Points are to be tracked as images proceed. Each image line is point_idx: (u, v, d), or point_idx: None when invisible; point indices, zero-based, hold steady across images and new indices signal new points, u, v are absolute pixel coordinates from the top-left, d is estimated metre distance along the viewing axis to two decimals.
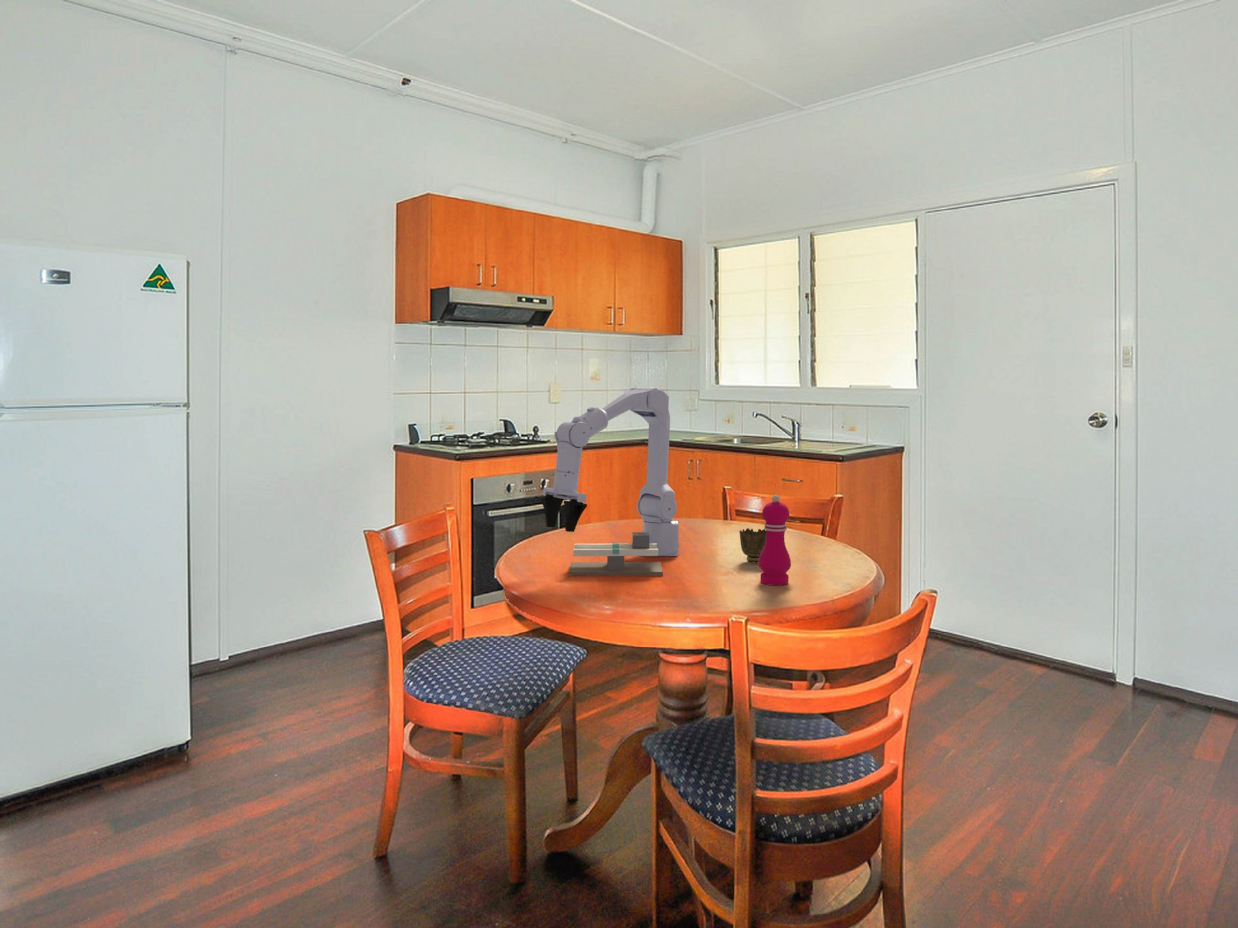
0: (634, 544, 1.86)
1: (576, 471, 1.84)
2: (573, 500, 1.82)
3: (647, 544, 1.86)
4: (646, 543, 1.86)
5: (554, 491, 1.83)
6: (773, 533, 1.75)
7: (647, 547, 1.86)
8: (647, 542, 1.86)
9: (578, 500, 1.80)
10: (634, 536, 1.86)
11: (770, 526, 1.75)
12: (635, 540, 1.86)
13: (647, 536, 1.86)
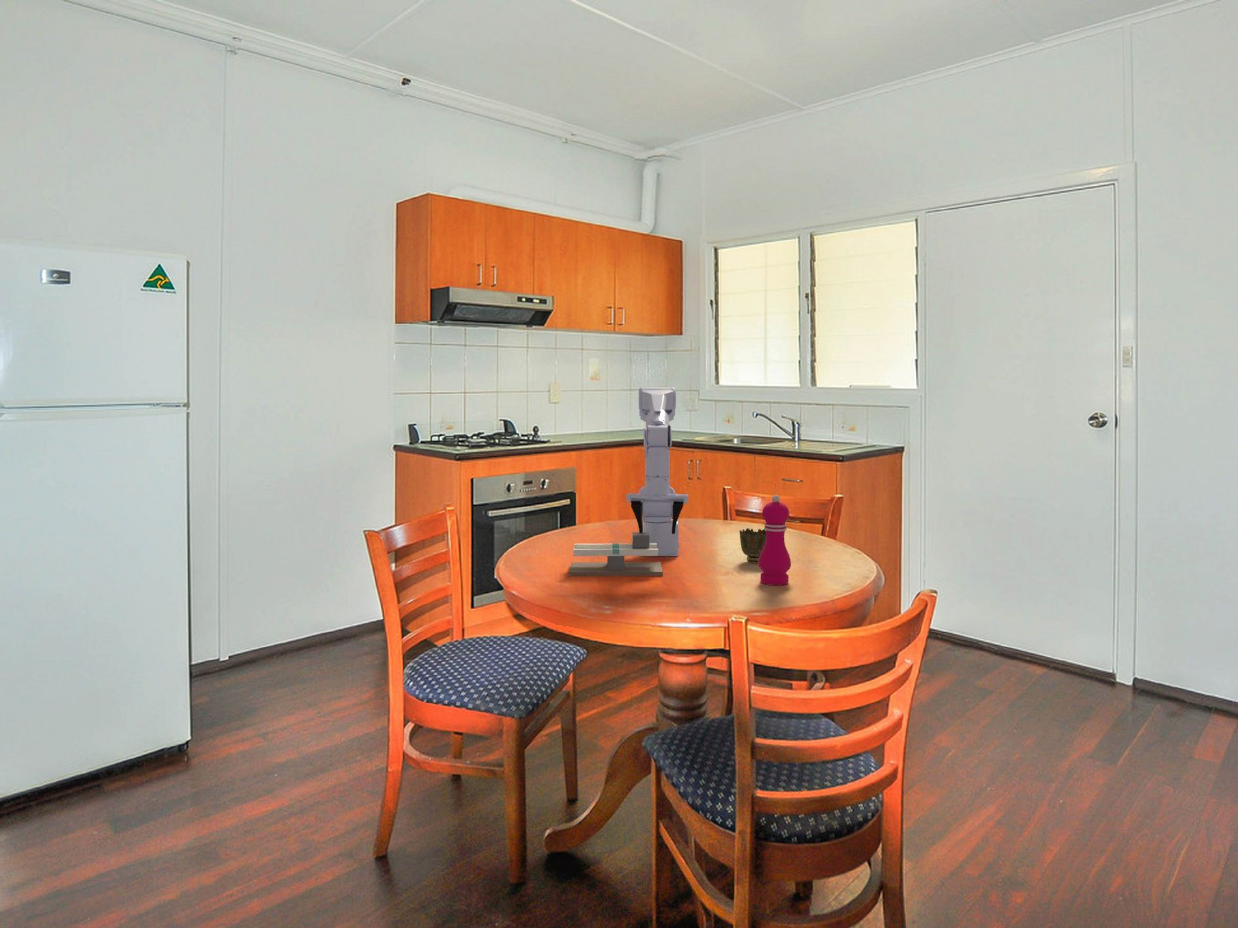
0: (634, 544, 1.86)
1: None
2: (677, 502, 1.84)
3: (647, 544, 1.86)
4: (646, 543, 1.86)
5: (660, 498, 1.81)
6: (773, 533, 1.75)
7: (647, 547, 1.86)
8: (647, 542, 1.86)
9: (686, 502, 1.84)
10: (634, 536, 1.86)
11: (770, 526, 1.75)
12: (635, 540, 1.86)
13: (647, 536, 1.86)
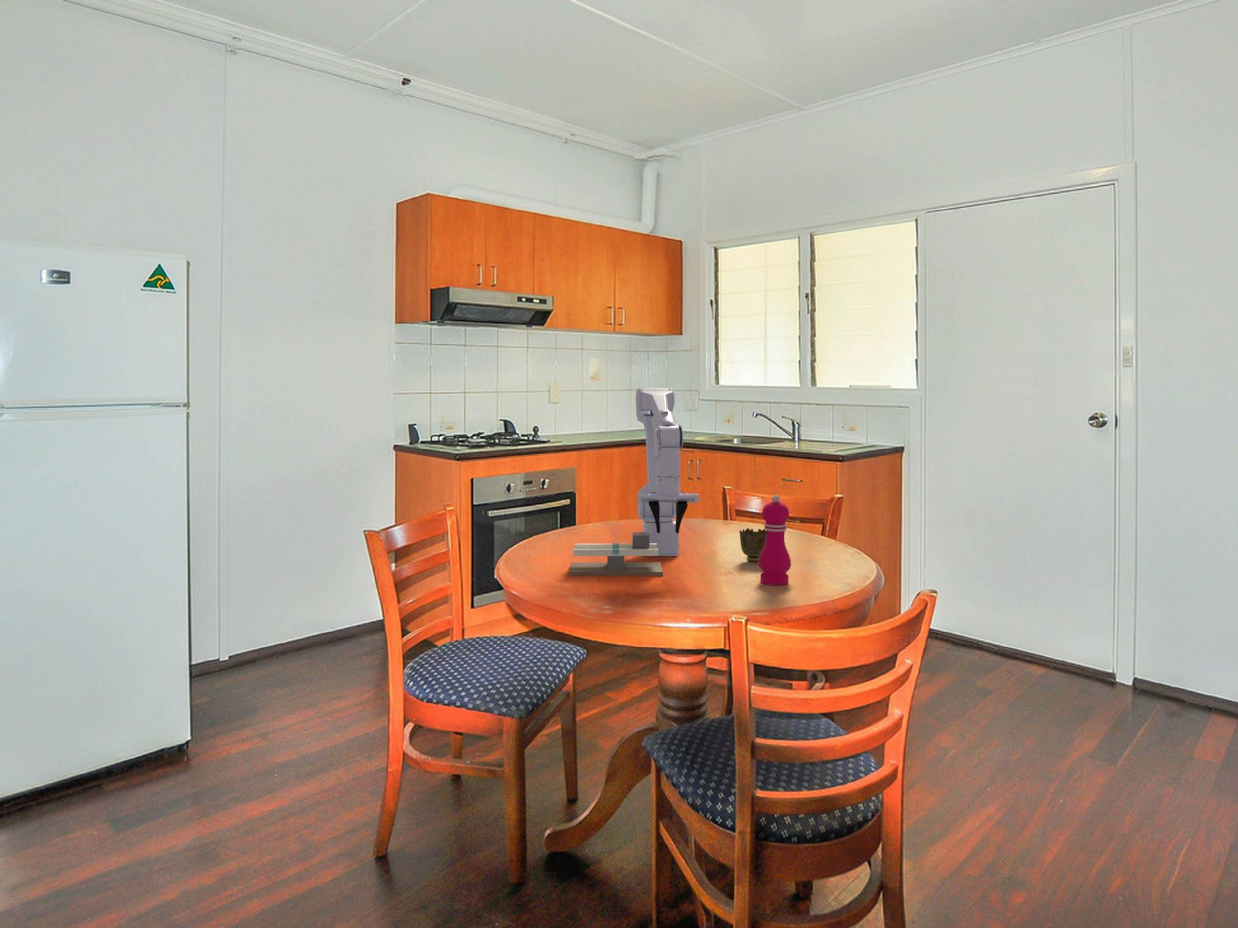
0: (634, 544, 1.86)
1: None
2: None
3: (647, 544, 1.86)
4: (646, 543, 1.86)
5: (673, 498, 1.83)
6: (773, 533, 1.75)
7: (647, 547, 1.86)
8: (647, 542, 1.86)
9: (697, 501, 1.86)
10: (634, 536, 1.86)
11: (770, 526, 1.75)
12: (635, 540, 1.86)
13: (647, 536, 1.86)
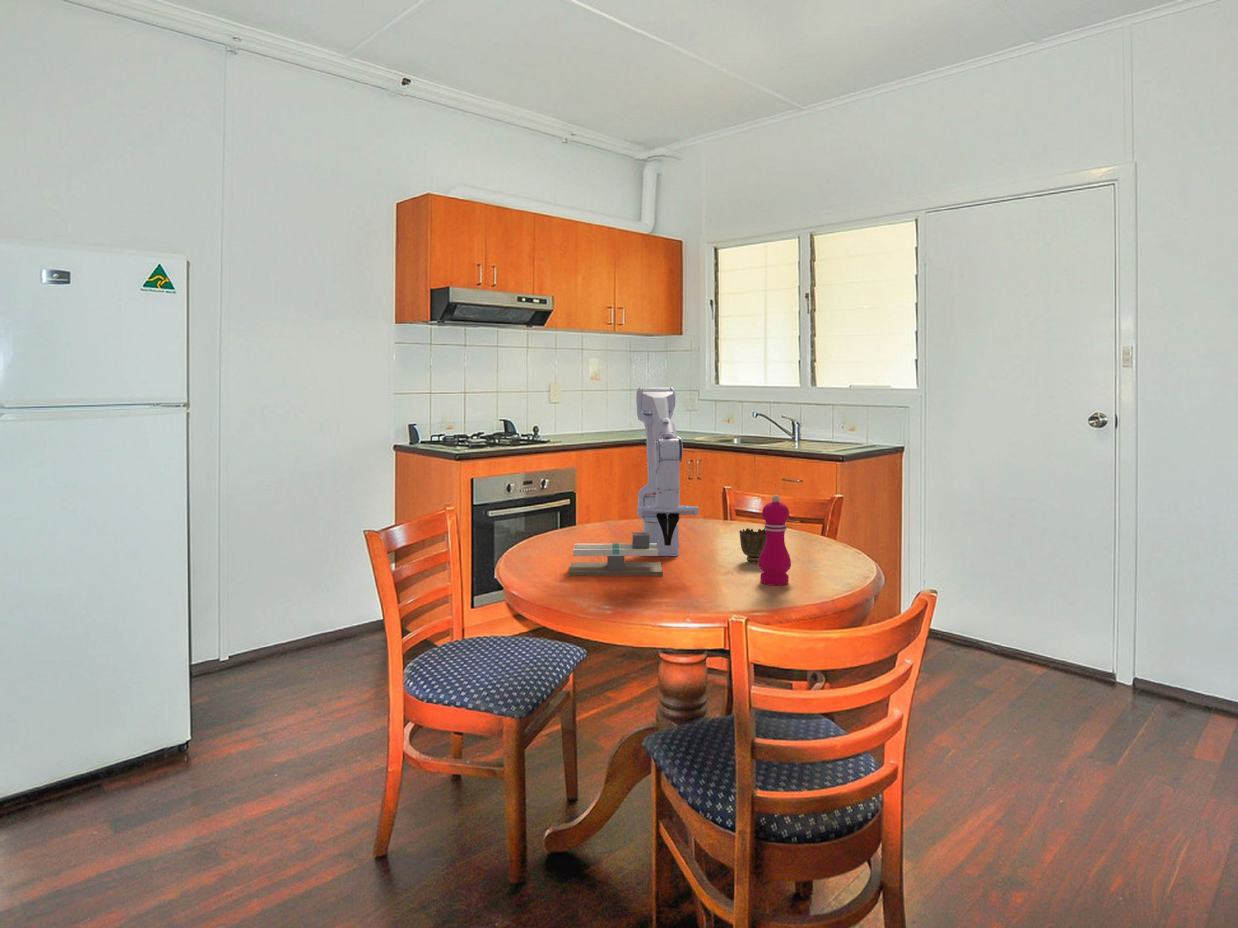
0: (634, 544, 1.86)
1: None
2: (688, 514, 1.86)
3: (647, 544, 1.86)
4: (646, 543, 1.86)
5: (672, 510, 1.83)
6: (773, 533, 1.75)
7: (647, 547, 1.86)
8: (647, 542, 1.86)
9: (696, 514, 1.86)
10: (634, 536, 1.86)
11: (770, 526, 1.75)
12: (635, 540, 1.86)
13: (647, 536, 1.86)
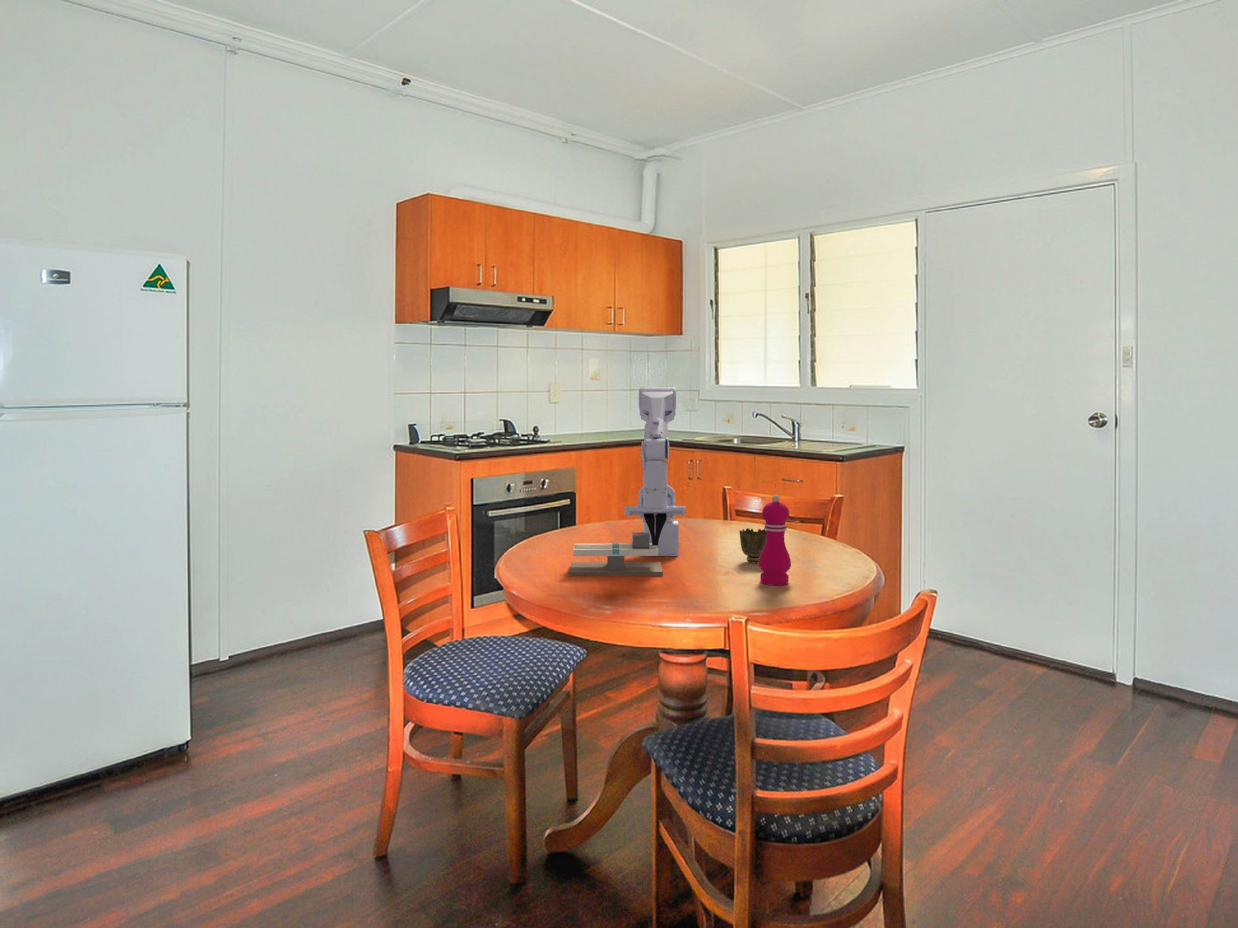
0: (634, 544, 1.86)
1: None
2: (675, 514, 1.86)
3: (647, 544, 1.86)
4: (646, 543, 1.86)
5: (660, 510, 1.83)
6: (773, 533, 1.75)
7: (647, 547, 1.86)
8: (647, 542, 1.86)
9: (684, 514, 1.86)
10: (634, 536, 1.86)
11: (770, 526, 1.75)
12: (635, 540, 1.86)
13: (647, 536, 1.86)
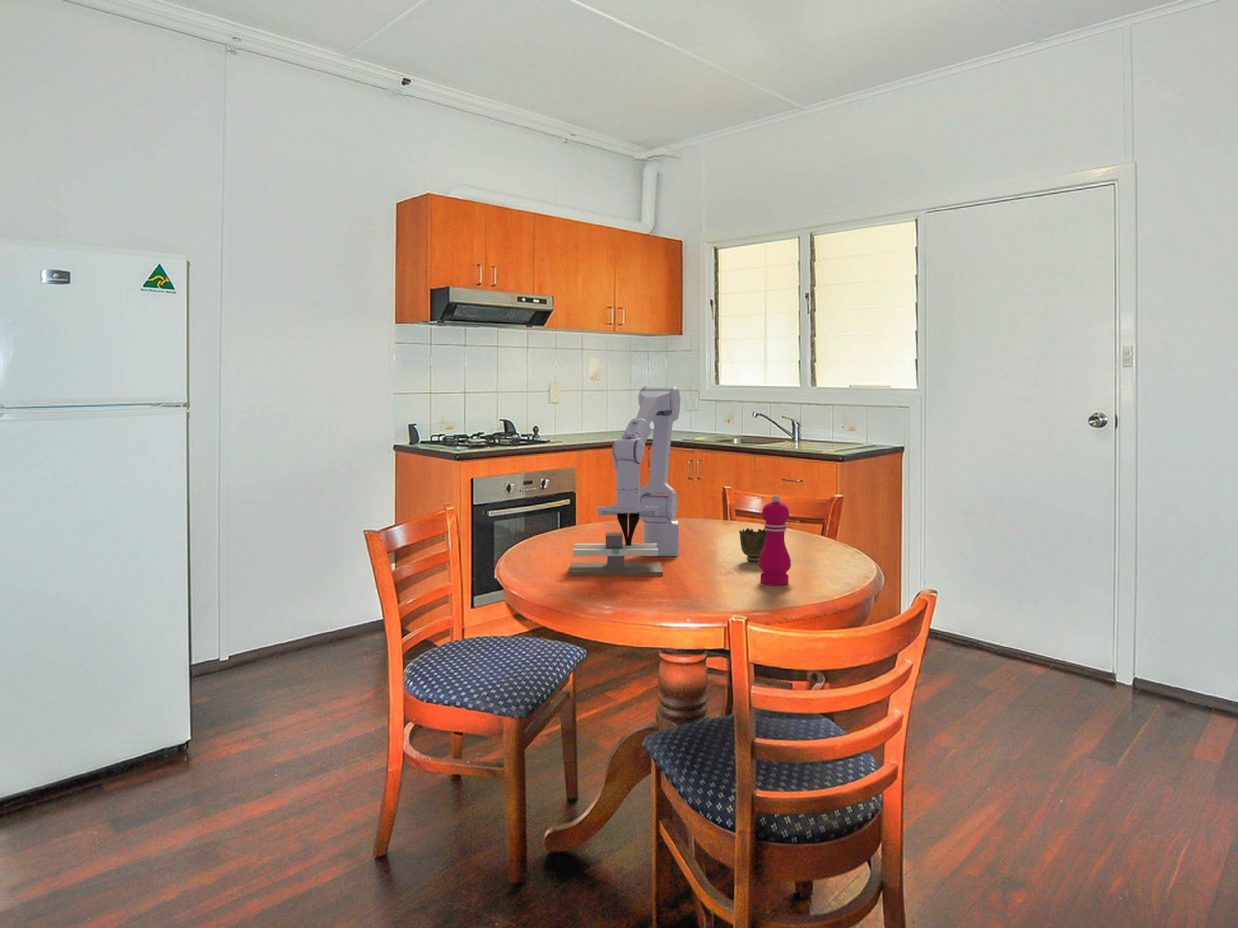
0: (607, 544, 1.86)
1: (639, 486, 1.86)
2: (648, 515, 1.86)
3: (620, 544, 1.86)
4: (619, 543, 1.86)
5: (632, 510, 1.83)
6: (773, 533, 1.75)
7: (620, 547, 1.86)
8: (620, 542, 1.86)
9: (657, 514, 1.86)
10: (607, 536, 1.86)
11: (770, 526, 1.75)
12: (608, 540, 1.86)
13: (620, 536, 1.86)
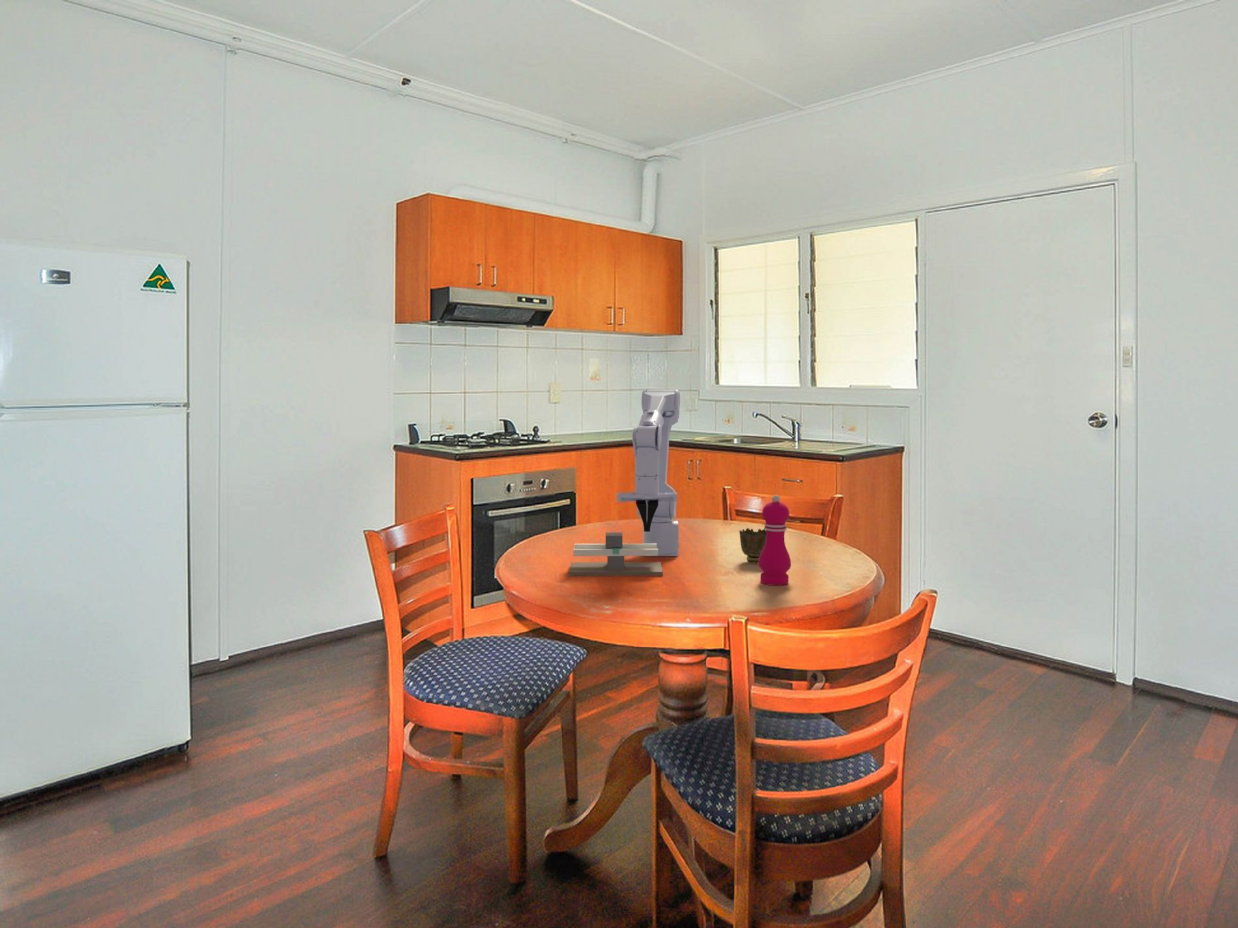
0: (607, 544, 1.86)
1: (658, 473, 1.89)
2: (667, 501, 1.89)
3: (620, 544, 1.86)
4: (619, 543, 1.86)
5: (651, 497, 1.85)
6: (773, 533, 1.75)
7: (620, 547, 1.86)
8: (620, 542, 1.86)
9: (675, 500, 1.88)
10: (607, 536, 1.86)
11: (770, 526, 1.75)
12: (608, 540, 1.86)
13: (620, 536, 1.86)
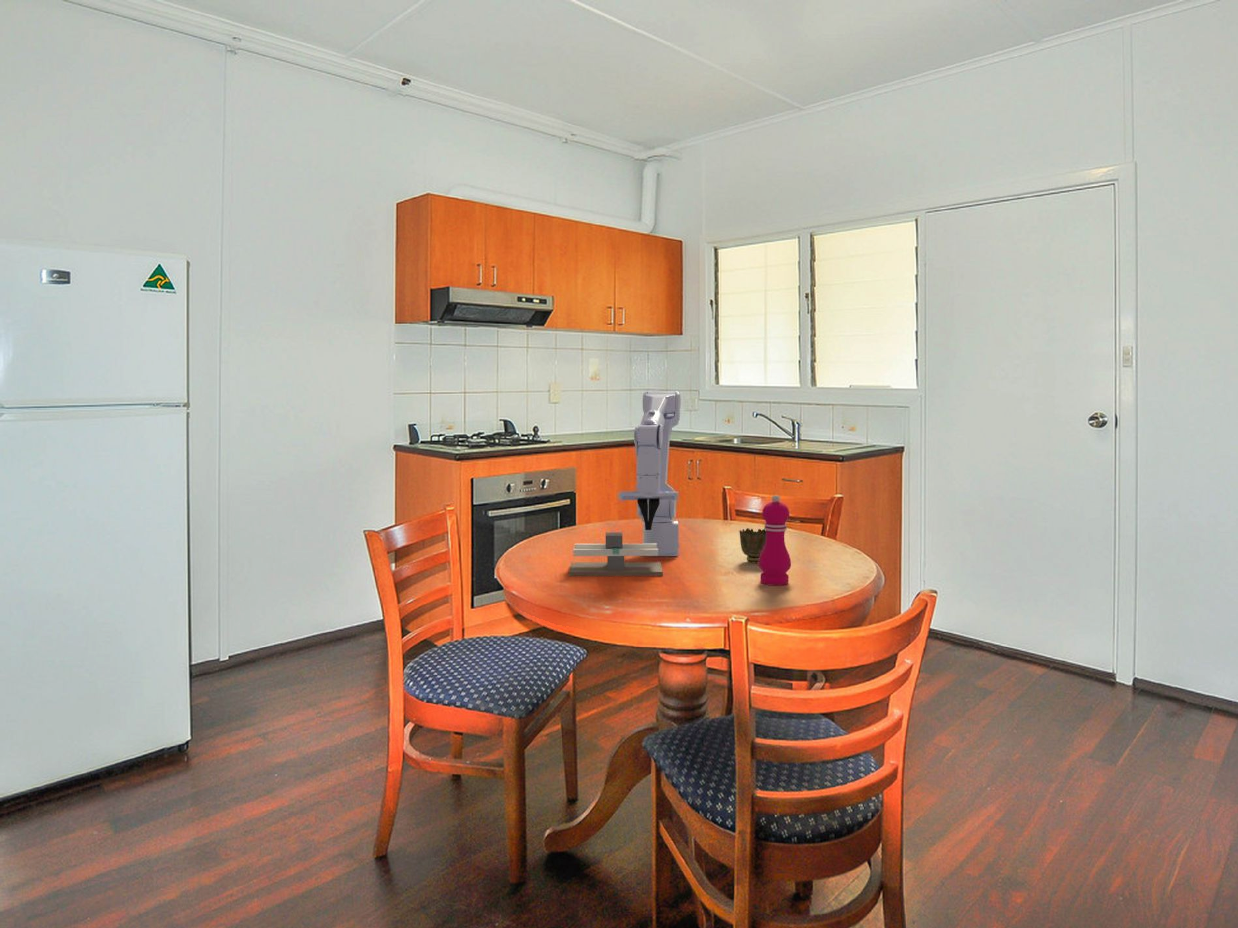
0: (607, 544, 1.86)
1: None
2: (668, 499, 1.90)
3: (620, 544, 1.86)
4: (619, 543, 1.86)
5: (652, 495, 1.87)
6: (773, 533, 1.75)
7: (620, 547, 1.86)
8: (620, 542, 1.86)
9: (676, 499, 1.90)
10: (607, 536, 1.86)
11: (770, 526, 1.75)
12: (608, 540, 1.86)
13: (620, 536, 1.86)
